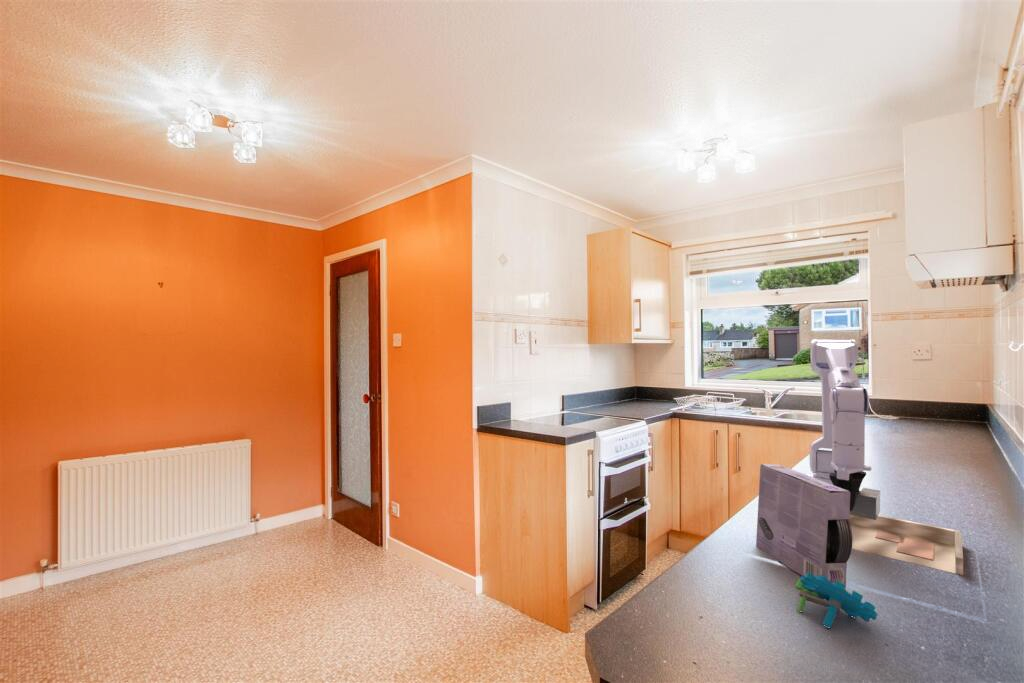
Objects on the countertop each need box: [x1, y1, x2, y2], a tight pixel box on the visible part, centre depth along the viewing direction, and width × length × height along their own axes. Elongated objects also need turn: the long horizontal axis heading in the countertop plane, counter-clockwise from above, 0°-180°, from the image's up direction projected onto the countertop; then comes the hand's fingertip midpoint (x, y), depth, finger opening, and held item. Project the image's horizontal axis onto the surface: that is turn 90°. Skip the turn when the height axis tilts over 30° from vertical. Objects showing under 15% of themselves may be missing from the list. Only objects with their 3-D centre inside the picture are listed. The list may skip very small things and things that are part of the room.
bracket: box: [850, 487, 881, 520], centre depth 104 cm, size 9×8×4 cm
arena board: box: [849, 514, 964, 576], centre depth 103 cm, size 23×18×4 cm
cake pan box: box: [755, 463, 853, 588], centre depth 92 cm, size 19×5×18 cm, turn 9°
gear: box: [794, 573, 878, 628], centre depth 74 cm, size 11×6×10 cm
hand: (847, 506), depth 103 cm, fingers closed on bracket, 4 cm apart
